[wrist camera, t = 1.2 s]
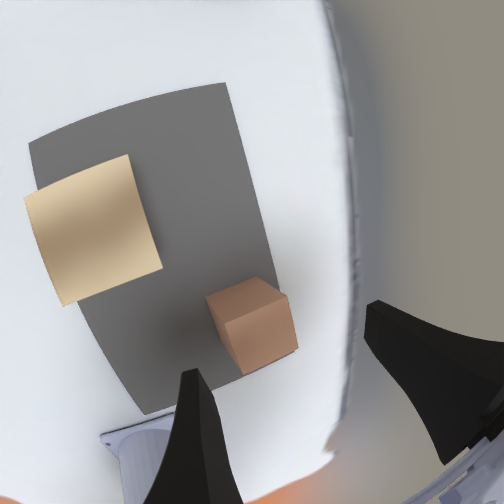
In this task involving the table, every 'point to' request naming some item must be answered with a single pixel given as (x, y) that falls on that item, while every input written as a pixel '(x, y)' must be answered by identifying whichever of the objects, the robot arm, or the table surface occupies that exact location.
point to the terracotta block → (253, 323)
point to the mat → (170, 234)
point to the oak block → (92, 230)
